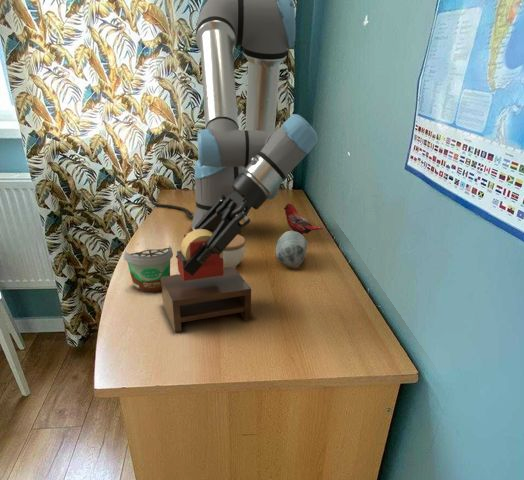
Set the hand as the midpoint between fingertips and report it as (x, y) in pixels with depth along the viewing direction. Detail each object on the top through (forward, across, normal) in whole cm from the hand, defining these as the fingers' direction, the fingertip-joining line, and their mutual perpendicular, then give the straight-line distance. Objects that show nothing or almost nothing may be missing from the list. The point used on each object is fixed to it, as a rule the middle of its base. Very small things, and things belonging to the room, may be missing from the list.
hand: (184, 265), depth 100 cm
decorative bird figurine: (-24, -36, +43) cm, 61 cm away
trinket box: (-3, -24, +22) cm, 32 cm away
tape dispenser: (-1, 0, +4) cm, 4 cm away
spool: (-17, -21, +35) cm, 44 cm away
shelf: (+6, 0, +12) cm, 14 cm away
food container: (+12, -16, +6) cm, 21 cm away
